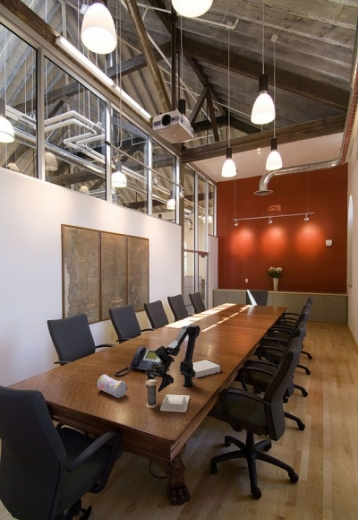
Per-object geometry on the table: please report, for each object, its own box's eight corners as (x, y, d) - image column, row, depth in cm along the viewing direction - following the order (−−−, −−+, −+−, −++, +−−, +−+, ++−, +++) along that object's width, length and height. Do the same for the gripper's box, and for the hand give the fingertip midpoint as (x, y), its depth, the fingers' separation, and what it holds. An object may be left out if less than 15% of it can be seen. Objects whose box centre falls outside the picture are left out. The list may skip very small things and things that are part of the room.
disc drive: (221, 372, 204) (221, 365, 204) (196, 378, 192) (196, 371, 192) (207, 365, 219) (206, 359, 219) (183, 371, 207) (183, 364, 207)
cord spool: (148, 402, 158) (147, 379, 158) (158, 402, 157) (158, 379, 157) (144, 407, 151) (144, 383, 152) (156, 408, 150) (155, 384, 151)
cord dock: (166, 396, 164) (166, 390, 165) (189, 397, 162) (189, 391, 162) (160, 410, 148) (160, 403, 148) (185, 412, 145) (185, 405, 146)
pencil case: (128, 395, 167) (128, 379, 168) (116, 400, 160) (116, 384, 161) (107, 386, 180) (107, 372, 181) (95, 391, 173) (95, 376, 174)
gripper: (147, 354, 166) (133, 378, 156) (170, 360, 154) (157, 387, 145) (156, 364, 171) (143, 388, 162) (179, 370, 159) (167, 396, 150)
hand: (152, 389), depth 155 cm, fingers open, 9 cm apart
